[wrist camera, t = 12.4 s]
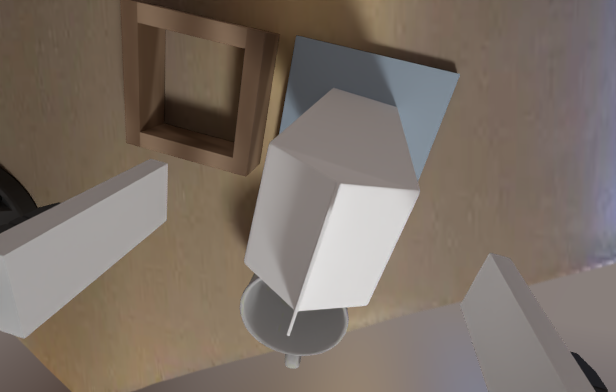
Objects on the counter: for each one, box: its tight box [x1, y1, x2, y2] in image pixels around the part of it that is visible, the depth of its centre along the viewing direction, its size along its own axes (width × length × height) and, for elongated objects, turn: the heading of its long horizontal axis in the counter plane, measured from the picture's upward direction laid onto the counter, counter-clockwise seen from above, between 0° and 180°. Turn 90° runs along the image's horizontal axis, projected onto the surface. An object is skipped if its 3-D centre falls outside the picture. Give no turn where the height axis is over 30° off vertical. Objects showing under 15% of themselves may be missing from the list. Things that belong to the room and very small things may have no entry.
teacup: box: [240, 273, 348, 368], centre depth 36 cm, size 14×11×8 cm
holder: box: [120, 0, 280, 176], centre depth 31 cm, size 12×12×4 cm
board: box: [279, 35, 460, 181], centre depth 31 cm, size 14×13×1 cm
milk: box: [244, 88, 420, 336], centre depth 20 cm, size 6×6×22 cm
